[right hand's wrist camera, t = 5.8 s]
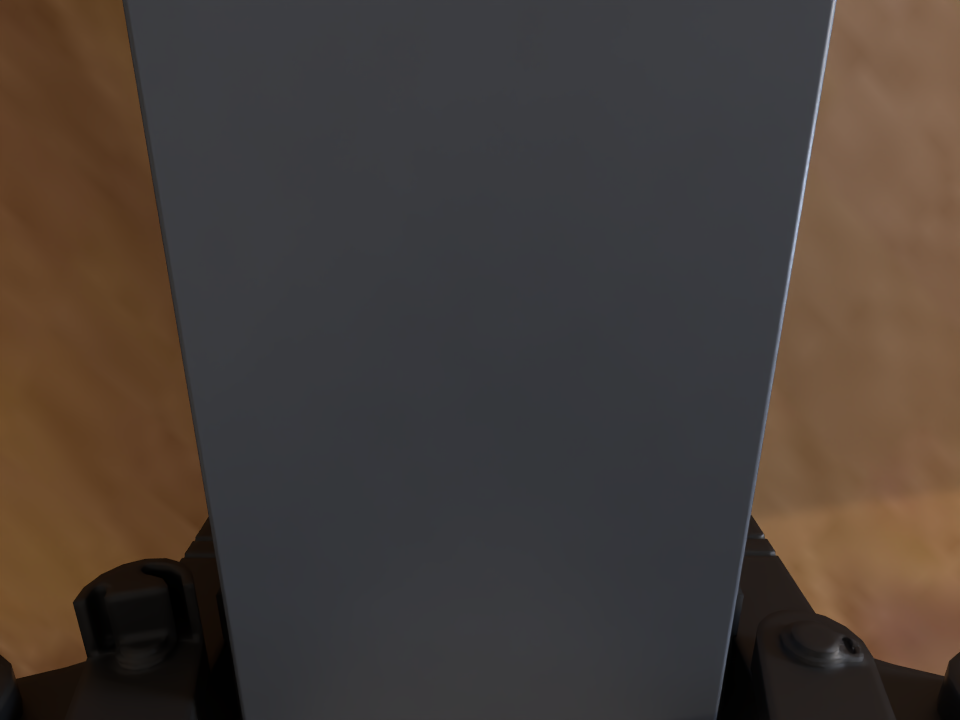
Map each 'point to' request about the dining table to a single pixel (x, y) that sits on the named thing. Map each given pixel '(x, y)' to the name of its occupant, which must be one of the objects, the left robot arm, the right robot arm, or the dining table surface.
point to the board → (479, 335)
